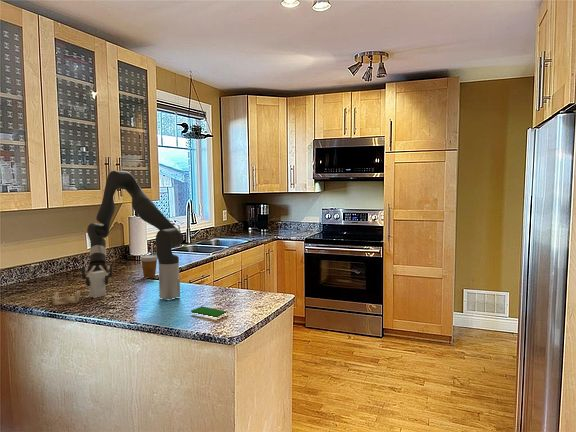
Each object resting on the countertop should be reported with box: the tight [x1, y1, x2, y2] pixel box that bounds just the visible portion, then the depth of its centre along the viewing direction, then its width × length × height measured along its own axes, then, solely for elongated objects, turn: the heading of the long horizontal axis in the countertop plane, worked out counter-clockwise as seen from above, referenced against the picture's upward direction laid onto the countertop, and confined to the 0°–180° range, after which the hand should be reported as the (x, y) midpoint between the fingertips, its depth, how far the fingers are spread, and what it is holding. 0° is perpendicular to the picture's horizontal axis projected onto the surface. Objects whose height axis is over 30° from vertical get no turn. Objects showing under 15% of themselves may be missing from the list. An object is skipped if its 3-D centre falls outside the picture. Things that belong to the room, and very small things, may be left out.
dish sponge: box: [190, 305, 228, 317], centre depth 172 cm, size 7×14×2 cm, turn 60°
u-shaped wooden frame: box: [51, 289, 81, 306], centre depth 191 cm, size 10×11×3 cm
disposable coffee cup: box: [139, 254, 158, 279], centre depth 236 cm, size 10×10×12 cm
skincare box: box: [88, 270, 107, 299], centre depth 197 cm, size 6×4×12 cm
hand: (97, 284), depth 196 cm, fingers closed on skincare box, 7 cm apart
